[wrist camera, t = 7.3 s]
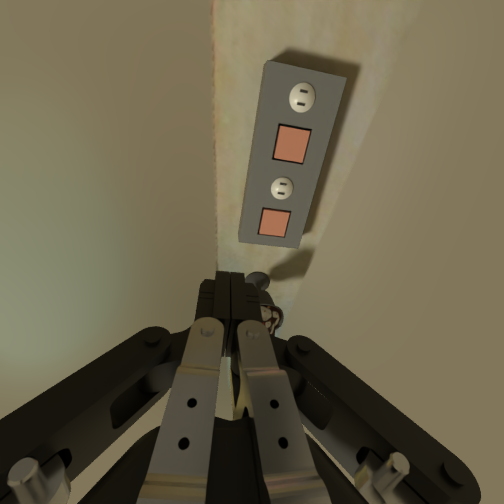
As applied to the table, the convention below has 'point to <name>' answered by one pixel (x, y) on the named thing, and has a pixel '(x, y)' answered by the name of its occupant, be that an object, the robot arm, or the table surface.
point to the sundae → (266, 302)
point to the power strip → (284, 171)
